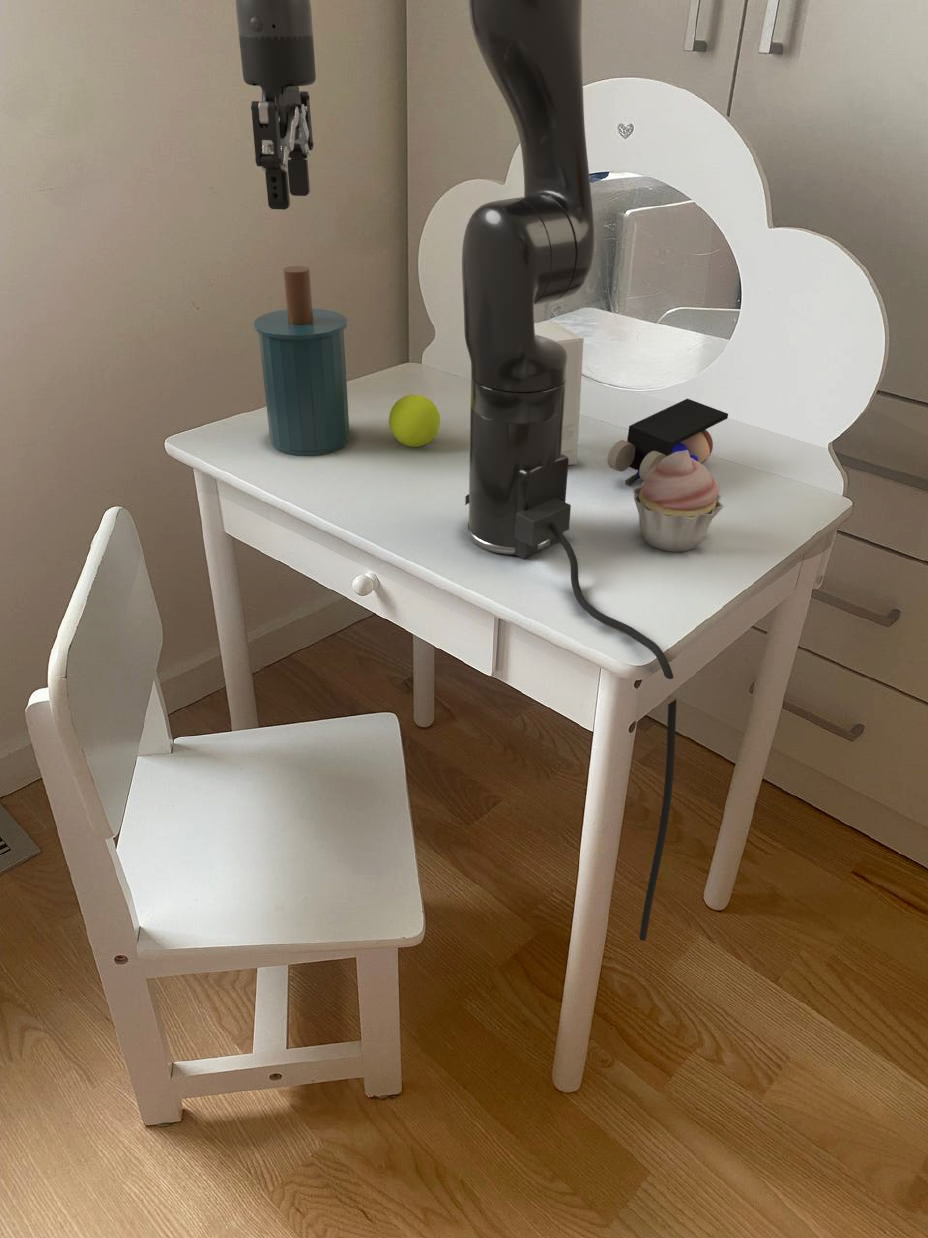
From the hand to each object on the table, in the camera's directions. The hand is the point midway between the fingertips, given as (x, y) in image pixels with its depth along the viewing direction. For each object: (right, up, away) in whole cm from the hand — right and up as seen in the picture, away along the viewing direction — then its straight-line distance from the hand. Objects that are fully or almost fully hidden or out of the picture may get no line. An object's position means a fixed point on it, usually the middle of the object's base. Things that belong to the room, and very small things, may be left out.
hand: (290, 201), depth 107 cm
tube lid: (0, -12, +7) cm, 14 cm away
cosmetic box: (+29, -27, +12) cm, 41 cm away
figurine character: (+43, -30, +8) cm, 53 cm away
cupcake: (+41, -38, -5) cm, 57 cm away
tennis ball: (+13, -22, +13) cm, 29 cm away
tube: (0, -24, +16) cm, 28 cm away
